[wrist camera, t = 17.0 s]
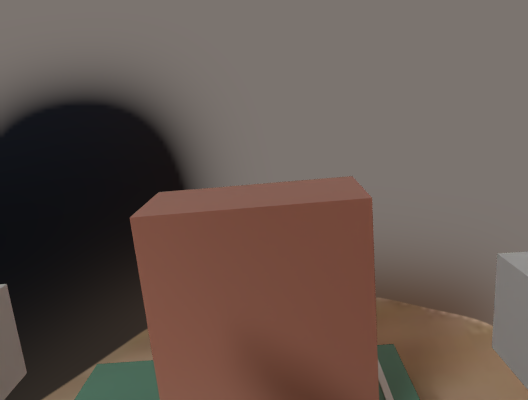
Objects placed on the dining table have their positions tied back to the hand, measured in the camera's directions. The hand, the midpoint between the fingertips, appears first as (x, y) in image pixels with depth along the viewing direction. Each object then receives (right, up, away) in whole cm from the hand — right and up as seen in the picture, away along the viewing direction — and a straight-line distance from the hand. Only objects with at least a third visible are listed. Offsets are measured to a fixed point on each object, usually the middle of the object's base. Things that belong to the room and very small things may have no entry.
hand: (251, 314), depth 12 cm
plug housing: (+1, -8, +13) cm, 16 cm away
